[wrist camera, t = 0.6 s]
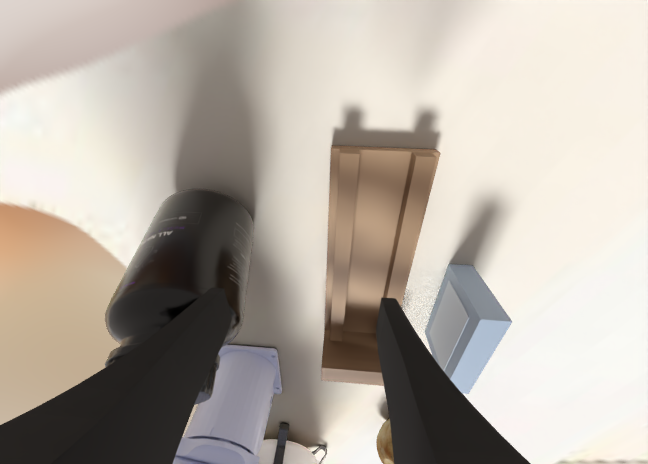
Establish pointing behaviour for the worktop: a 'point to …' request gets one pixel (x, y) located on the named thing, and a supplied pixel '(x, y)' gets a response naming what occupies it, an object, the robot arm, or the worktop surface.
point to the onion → (385, 444)
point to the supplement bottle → (183, 270)
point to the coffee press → (286, 450)
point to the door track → (369, 249)
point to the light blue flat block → (465, 326)
